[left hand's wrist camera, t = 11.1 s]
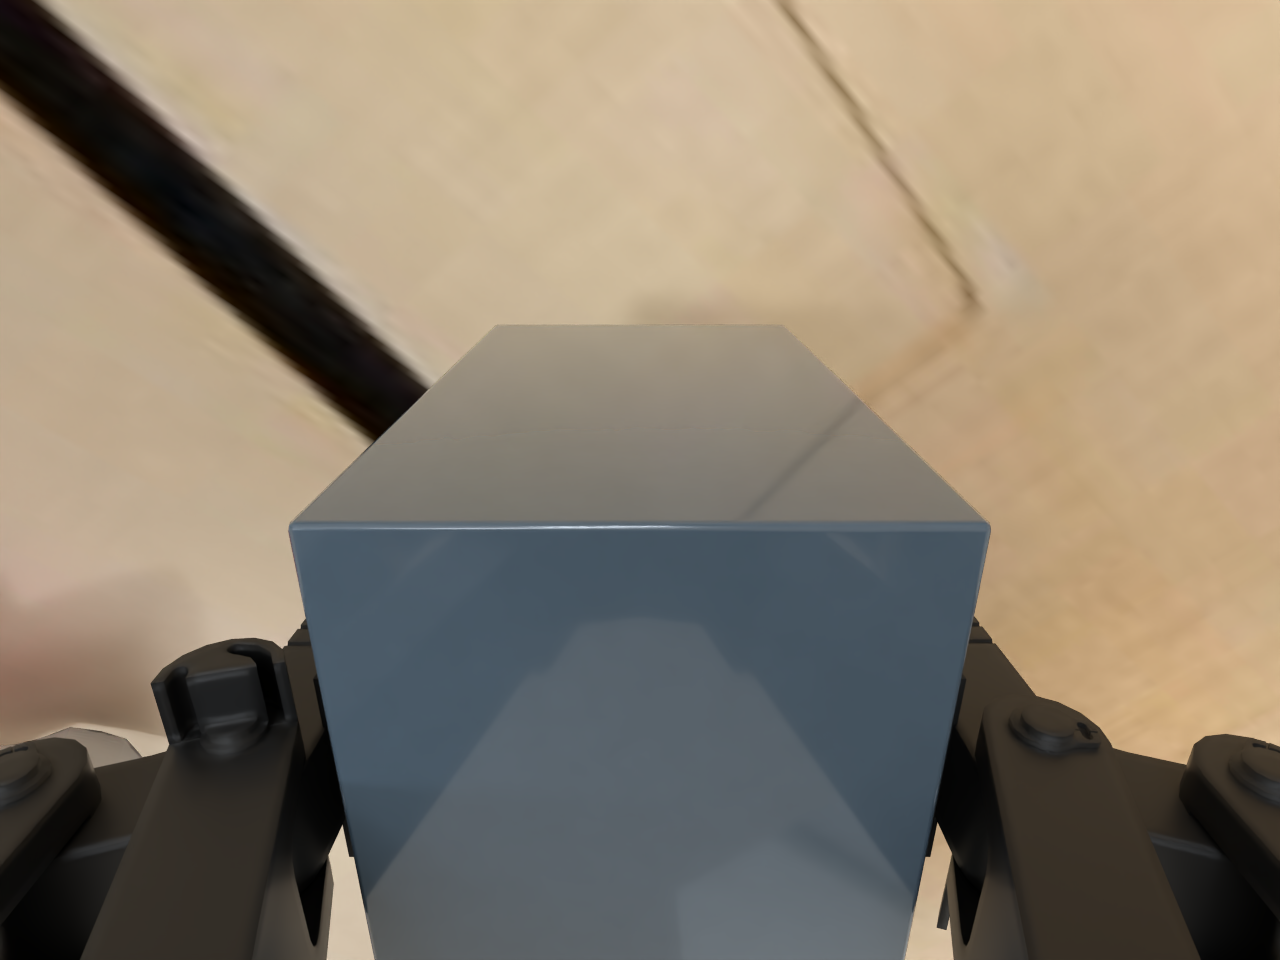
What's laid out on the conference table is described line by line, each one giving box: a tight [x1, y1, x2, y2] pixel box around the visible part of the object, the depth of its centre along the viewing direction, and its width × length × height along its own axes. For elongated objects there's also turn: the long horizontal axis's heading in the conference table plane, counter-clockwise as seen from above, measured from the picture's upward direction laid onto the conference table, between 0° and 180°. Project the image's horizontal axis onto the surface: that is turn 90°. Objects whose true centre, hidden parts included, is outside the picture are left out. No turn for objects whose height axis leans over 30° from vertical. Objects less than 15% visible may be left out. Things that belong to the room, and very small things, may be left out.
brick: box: [288, 325, 991, 960], centre depth 12 cm, size 8×6×9 cm
